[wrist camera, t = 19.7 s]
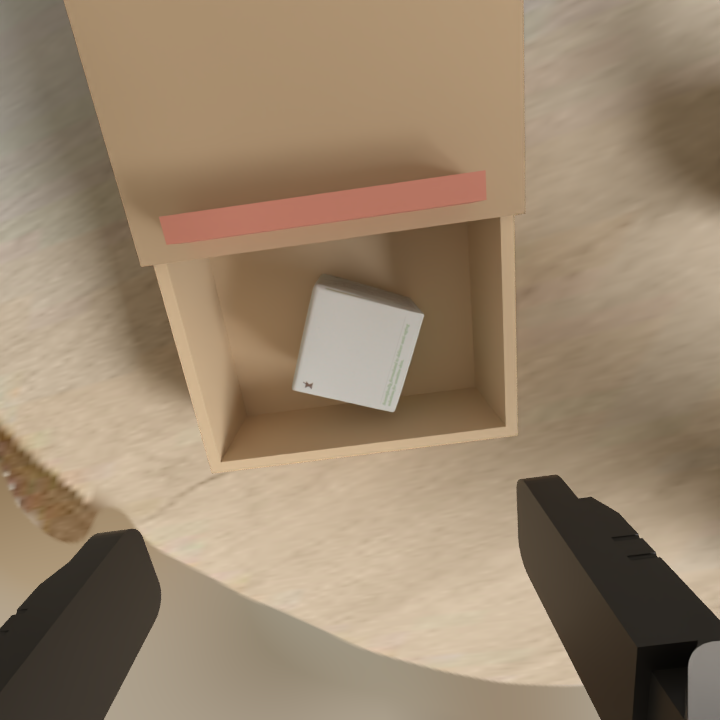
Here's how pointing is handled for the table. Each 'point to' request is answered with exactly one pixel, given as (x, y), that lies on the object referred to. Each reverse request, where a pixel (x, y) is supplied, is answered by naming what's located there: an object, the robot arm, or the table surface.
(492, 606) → the table surface
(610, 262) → the table surface
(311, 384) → the small box
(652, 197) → the table surface
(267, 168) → the lid
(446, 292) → the mailer box
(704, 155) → the table surface
